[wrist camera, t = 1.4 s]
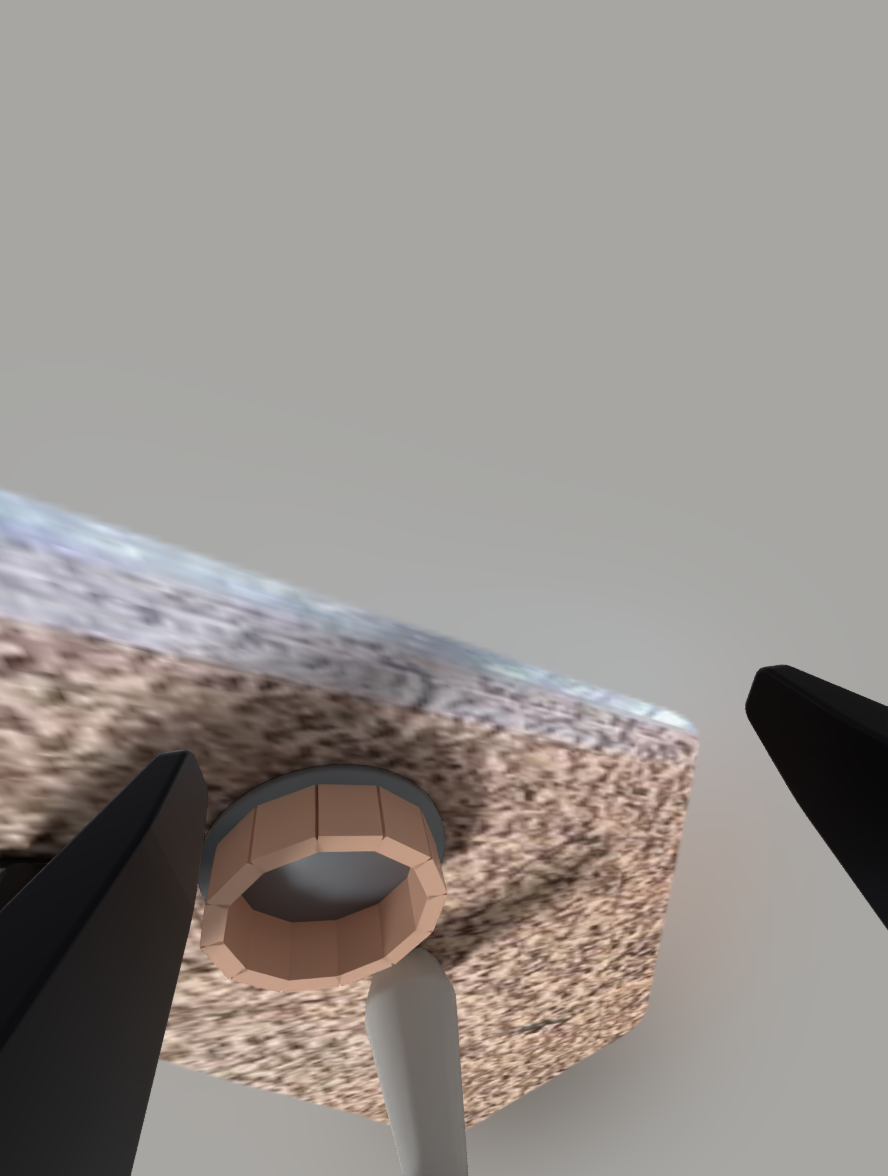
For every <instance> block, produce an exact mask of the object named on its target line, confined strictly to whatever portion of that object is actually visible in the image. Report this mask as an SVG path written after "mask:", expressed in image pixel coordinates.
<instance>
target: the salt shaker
mask: <svg viewBox="0 0 888 1176" xmlns="http://www.w3.org/2000/svg"><path fill="white" fill-rule="evenodd" d="M365 1025H366V1029H367V1033H368V1037H369V1041H370V1045H371V1049H372V1053H373V1057H374V1061H375V1065H376V1069H377V1073H378V1077H379V1081H380V1085H381V1089H382V1093H383V1097H384V1101H385V1105H386V1109H387V1113H388V1117H389V1121H390V1125H391V1129H392V1133H393V1137H394V1140H395V1144H396V1149H397V1152H398V1156H399V1160H400V1164H401V1168H402V1172H403V1176H468V1165H467V1152H466V1136H465V1121H464V1107H463V1093H462V1078H461V1064H460V1049H459V1035H458V1020H457V1006H456V994H455V991H454V988H453V985H452V984H451V982H450V980H449V979H448V977H447V975H446V974H445V972H444V971H443V969H442V967H441V966H440V964H439V962H438V961H437V959H436V957H434V956H433V955H432V954H430V953H429V952H428V951H426V950H425V949H424V948H422V947H419V948H414V949H413V950H411V951H410V952H409V953H408V954H407V955H406V956H404V957H403V958H402V959H401V960H400V961H398V962H397V963H396V964H393V963H392V966H391V967H389V968H386V969H384V970H381V971H379V972H376V973H374V975H373V979H372V983H371V986H370V990H369V994H368V997H367V1002H366V1013H365Z"/></svg>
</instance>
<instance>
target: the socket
mask: <svg viewBox="0 0 888 1176" xmlns="http://www.w3.org/2000/svg"><path fill="white" fill-rule="evenodd" d="M444 847H445V834H444V828H443V825H442V821H441V817H440V814H439V811H438V809H437V807H436V806H435V804H434V802H433V801H432V800H431V798H430V797H429V796H428V794H427V793H425V792H424V791H423V790H422V789H421V788H420V787H419V786H417V785H416V784H414V783H413V782H411V781H410V780H408V779H406V778H404V777H402V776H400V775H398V774H396V773H392V772H389V771H386V770H383V769H379V768H374V767H369V766H361V765H326V766H317V767H312V768H307V769H302V770H297V771H294V772H291V773H288V774H284V775H281V776H279V777H276V778H274V779H272V780H269V781H267V782H264V783H263V784H261V785H259V786H257V787H255V788H253V789H252V790H250V791H248V792H247V793H245V794H244V795H243V796H241V797H240V798H238V799H237V800H236V801H234V802H233V803H232V804H231V805H230V806H229V807H228V808H227V809H225V810H224V811H223V813H222V814H221V815H220V816H219V817H218V818H217V820H216V821H215V822H214V824H213V825H212V827H211V828H210V830H209V831H208V833H207V835H206V838H205V840H204V843H203V845H202V853H201V861H200V869H199V876H198V883H199V888H200V891H201V893H202V896H203V898H204V900H205V901H206V902H205V907H204V915H203V924H202V932H201V940H200V947H201V948H200V949H201V950H202V951H203V952H204V953H205V954H206V955H207V956H208V957H209V959H210V960H211V961H212V962H213V963H214V964H215V965H216V966H217V967H218V968H219V969H220V970H221V971H222V972H223V973H224V975H225V976H226V977H227V978H228V979H229V978H231V980H233V981H237V982H241V983H245V984H249V985H253V986H256V987H260V988H264V989H268V990H272V991H276V992H280V991H281V990H283V992H293V991H304V990H314V989H325V988H335V987H338V986H339V984H340V985H341V986H344V985H346V984H349V983H351V982H354V981H356V980H359V979H361V978H364V977H366V976H369V975H371V974H374V973H376V972H379V971H381V970H384V969H386V968H389V967H391V966H392V963H393V964H396V963H397V962H398V961H400V960H401V959H402V958H403V957H404V956H406V955H407V954H408V953H409V952H410V951H411V950H413V949H414V948H415V947H416V946H417V945H418V944H420V943H421V942H422V941H423V940H424V939H425V938H427V937H428V936H429V935H430V934H431V933H432V932H431V931H433V930H434V928H435V925H436V923H437V920H438V917H439V915H440V912H441V910H442V907H443V904H444V902H445V899H446V897H447V889H446V885H445V881H444V877H443V873H442V868H441V864H440V863H441V861H442V857H443V854H444Z"/></svg>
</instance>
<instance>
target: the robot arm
mask: <svg viewBox="0 0 888 1176" xmlns="http://www.w3.org/2000/svg"><path fill="white" fill-rule="evenodd" d="M745 710H746V714H747V717H748V719H749V721H750V723H751V725H752V726H753V728H754V730H755V732H756V733H757V735H758V736H759V738H760V740H761V742H762V743H763V745H764V747H765V749H766V750H767V752H768V754H769V756H770V757H771V759H772V761H773V762H774V764H775V766H776V768H777V769H778V771H779V773H780V774H781V776H782V778H783V779H784V781H785V783H786V785H787V786H788V788H789V790H790V791H791V793H792V794H793V796H794V798H795V799H796V801H797V803H798V804H799V805H800V807H801V809H802V810H803V812H804V813H805V814H806V816H807V817H808V819H809V820H810V821H811V823H812V824H813V826H814V827H815V829H816V830H817V831H818V833H819V834H820V835H821V837H822V838H823V840H824V841H825V843H826V844H827V845H828V847H829V848H830V850H831V851H832V853H833V854H834V855H835V857H836V858H837V860H839V862H840V864H841V865H842V866H843V868H844V869H845V871H846V872H847V873H848V875H849V876H850V878H851V879H852V881H853V882H854V883H855V885H856V886H857V888H858V889H859V890H860V892H861V893H862V895H863V896H864V897H865V899H866V900H867V902H868V903H869V904H870V906H871V907H872V909H873V910H874V912H875V913H876V914H877V916H878V917H879V918H880V920H881V921H882V923H883V924H884V925H885V927H886V928H887V930H888V706H885V705H883V704H881V703H878V702H876V701H873V700H871V699H868V698H866V697H864V696H861V695H859V694H856V693H854V692H852V691H849V690H847V689H844V688H842V687H840V686H837V685H834V684H832V683H830V682H827V681H825V680H823V679H820V678H818V677H815V676H813V675H811V674H808V673H806V672H803V671H801V670H799V669H796V668H794V667H791V666H788V665H775V666H768V667H763V668H760V669H759V670H758V671H757V673H756V675H755V678H754V681H753V683H752V686H751V689H750V692H749V695H748V698H747V700H746V704H745ZM207 807H208V789H207V785H206V782H205V780H204V778H203V775H202V773H201V770H200V768H199V765H198V763H197V760H196V758H195V756H194V754H193V753H192V752H191V751H190V750H187V749H183V750H176V751H169V752H163V753H160V754H159V755H157V756H156V757H155V758H154V759H153V760H152V761H151V762H150V763H149V764H148V765H147V766H146V767H145V768H144V769H143V770H142V771H141V772H140V773H139V774H138V775H137V776H136V777H135V778H134V779H133V780H132V781H131V782H130V783H129V784H127V785H126V786H125V787H124V788H123V789H122V790H121V791H120V792H119V793H118V794H117V795H116V796H115V797H114V798H113V799H112V800H111V801H110V802H109V803H108V804H107V805H106V806H105V807H104V808H103V809H102V810H101V811H100V812H99V813H98V814H97V815H96V816H95V817H94V818H93V819H92V820H91V821H90V822H89V823H88V824H87V825H86V826H85V827H84V828H83V829H82V830H81V831H80V832H79V833H78V834H77V835H76V836H75V837H74V838H73V839H72V840H71V841H70V842H69V843H68V844H67V845H66V846H65V847H64V848H63V849H62V850H61V851H60V852H59V853H58V854H57V855H56V856H55V857H54V858H53V859H36V860H0V1176H131V1172H132V1168H133V1164H134V1159H135V1155H136V1151H137V1147H138V1143H139V1138H140V1134H141V1130H142V1126H143V1122H144V1118H145V1113H146V1109H147V1105H148V1101H149V1097H150V1092H151V1088H152V1084H153V1080H154V1076H155V1071H156V1067H157V1063H158V1059H159V1055H160V1051H161V1047H162V1042H163V1038H164V1034H165V1030H166V1026H167V1022H168V1017H169V1013H170V1009H171V1005H172V1001H173V996H174V992H175V988H176V984H177V980H178V976H179V971H180V967H181V963H182V959H183V955H184V950H185V946H186V942H187V938H188V934H189V930H190V925H191V920H192V916H193V911H194V905H195V898H196V892H197V884H198V876H199V869H200V861H201V853H202V845H203V838H204V830H205V822H206V814H207Z"/></svg>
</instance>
